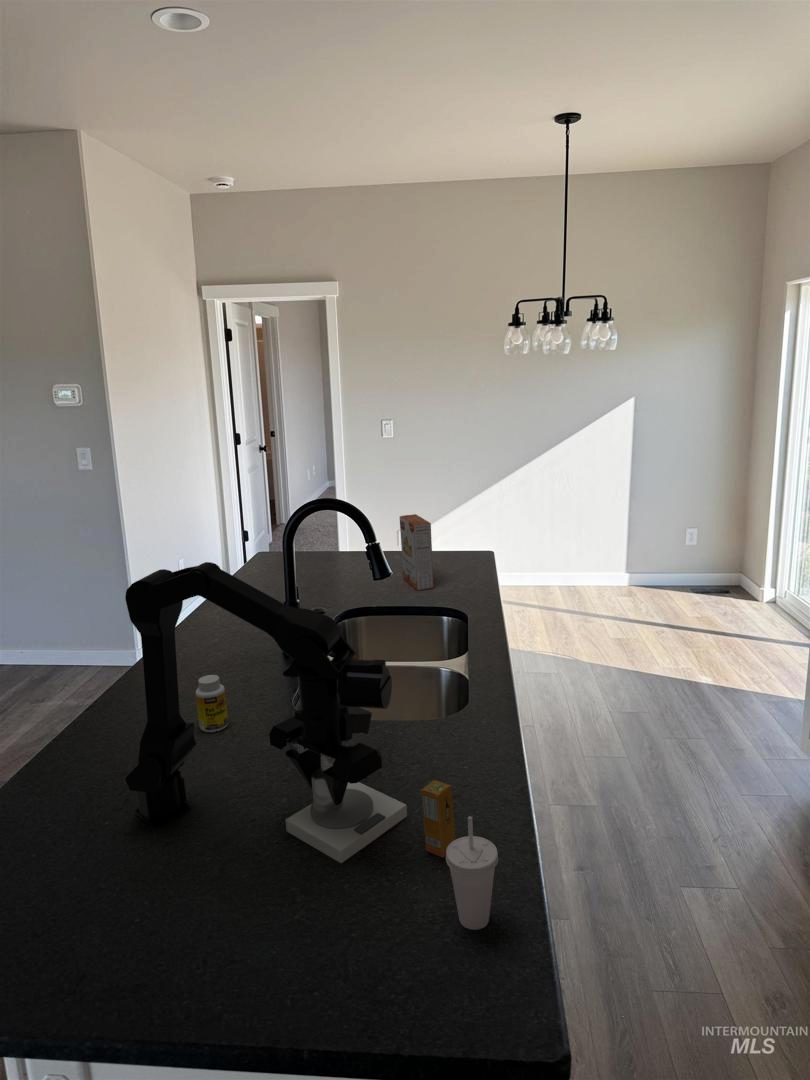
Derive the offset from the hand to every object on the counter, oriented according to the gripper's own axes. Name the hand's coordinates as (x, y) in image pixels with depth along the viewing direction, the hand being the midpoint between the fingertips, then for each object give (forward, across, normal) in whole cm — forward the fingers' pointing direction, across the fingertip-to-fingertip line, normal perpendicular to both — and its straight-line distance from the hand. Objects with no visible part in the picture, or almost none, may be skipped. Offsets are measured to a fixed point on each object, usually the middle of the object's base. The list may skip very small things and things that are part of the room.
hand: (328, 798), depth 112 cm
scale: (+5, -1, -2) cm, 6 cm away
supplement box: (+5, -16, -6) cm, 18 cm away
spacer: (+1, 0, 0) cm, 1 cm away
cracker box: (+6, +71, -102) cm, 125 cm away
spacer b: (+5, +11, -10) cm, 16 cm away
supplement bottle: (+6, +43, -8) cm, 44 cm away
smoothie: (+5, -28, +2) cm, 29 cm away
